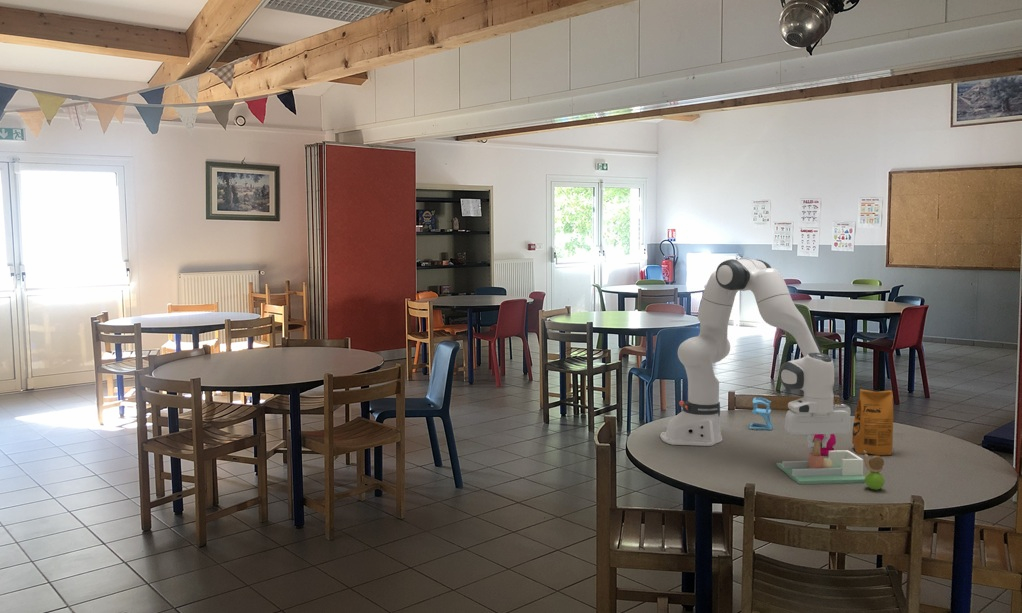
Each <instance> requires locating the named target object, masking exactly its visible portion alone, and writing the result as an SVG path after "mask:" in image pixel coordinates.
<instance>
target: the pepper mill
mask: <svg viewBox="0 0 1022 613" xmlns="http://www.w3.org/2000/svg"><path fill="white" fill-rule="evenodd" d="M835 435H836V434H830V439H829V440H828V442H827V444H826V448H820V455H821V456H828V455H829V451H835V448H834V446H835V445H836V441H837V440H836V439H837V438H836V436H835ZM824 437H825V436H824V435H823V434H813V439H820V440H821V441H822V440H823V438H824Z"/></svg>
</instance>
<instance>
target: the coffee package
mask: <svg viewBox="0 0 1022 613" xmlns="http://www.w3.org/2000/svg"><path fill="white" fill-rule="evenodd" d="M893 394H894V393H893V391H892V390H883V391H873V390H866V389H861V388H859V398H858V401H857V405H856V408H855V409H856V410H855V412H854V420H853V425H852V433H851V434H852V437H851V438H852V441H851V442H852V444H853V449H854V452H855V453H857V454H859V455H865V452H863V451H866V454H867V455H868V454H870V455H873V456H891V455H892V454H893V442H894V439H893V437H894V431H893V430H894V403H893V400H894V395H893Z"/></svg>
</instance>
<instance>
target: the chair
mask: <svg viewBox="0 0 1022 613" xmlns="http://www.w3.org/2000/svg"><path fill="white" fill-rule="evenodd" d="M771 403H772V401H771V400H768V399H767V398H764V397H756V396H755V397H753V399H752V408H753V409H752V410H751V414H752V415H753V414H754V415H758V416H760V417H762V418H763V419H764V422H765V423H766V424H763V423H758V422H751V423H750V424H749V427H748V430H750V429H753V431H754V430H756V429H758V430H759V431H772V430H773V422H772V419H771V416H770V414H771V412H772V408H770V406H771ZM759 404H760V405H763V406H765V408H759V407H758V405H759ZM755 425H756V426H755ZM758 430H757V431H758Z"/></svg>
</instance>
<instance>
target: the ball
mask: <svg viewBox="0 0 1022 613" xmlns="http://www.w3.org/2000/svg"><path fill="white" fill-rule="evenodd" d="M832 467H833V463H832V461H831V460H830V459H828V457H825V458H824V459H823V468H832Z"/></svg>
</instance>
